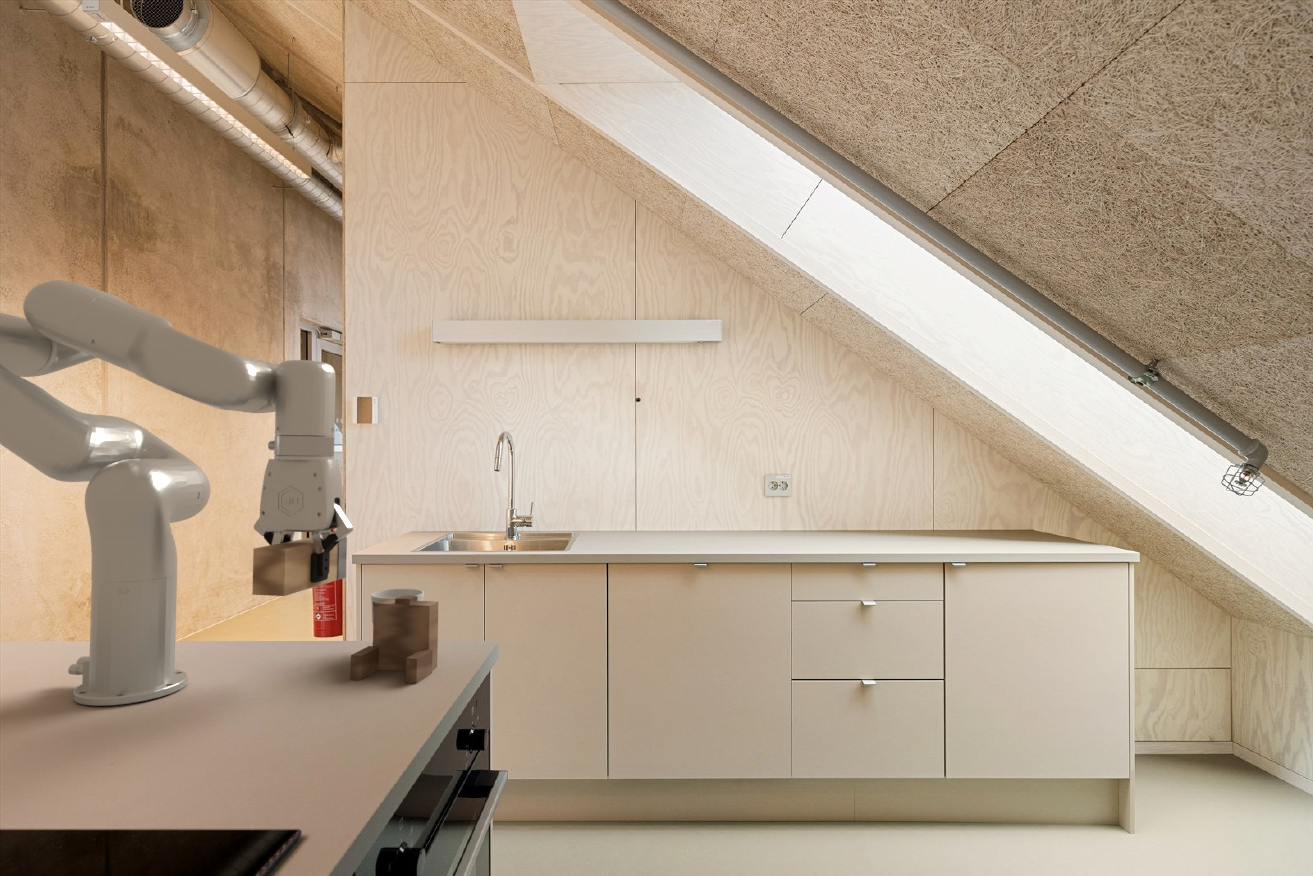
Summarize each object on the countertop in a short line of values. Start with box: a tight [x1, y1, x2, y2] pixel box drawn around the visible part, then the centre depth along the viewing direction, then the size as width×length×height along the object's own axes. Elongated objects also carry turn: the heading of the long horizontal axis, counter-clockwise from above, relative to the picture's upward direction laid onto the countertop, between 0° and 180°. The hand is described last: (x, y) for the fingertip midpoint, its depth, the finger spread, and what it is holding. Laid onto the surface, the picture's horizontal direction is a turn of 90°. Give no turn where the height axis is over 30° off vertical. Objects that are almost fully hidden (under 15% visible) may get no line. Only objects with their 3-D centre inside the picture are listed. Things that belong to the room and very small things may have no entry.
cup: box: [370, 588, 425, 623], centre depth 118 cm, size 8×8×10 cm
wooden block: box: [251, 536, 348, 597], centre depth 101 cm, size 5×14×6 cm, turn 172°
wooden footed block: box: [349, 595, 439, 684], centre depth 108 cm, size 10×8×11 cm
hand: (302, 579), depth 101 cm, fingers closed on wooden block, 4 cm apart
